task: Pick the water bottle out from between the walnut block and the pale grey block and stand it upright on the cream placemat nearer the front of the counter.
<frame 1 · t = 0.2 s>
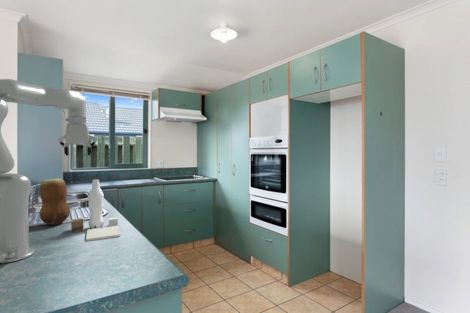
hand: (78, 155, 135), 38 cm above the counter, tool pointing down, fingers open, 9 cm apart
placemat: (103, 233, 130), on the counter
butternut squash: (55, 224, 146), on the counter
pale grey block: (113, 225, 144), on the counter
walnut block: (77, 230, 136), on the counter
water bottle: (96, 228, 140), on the counter
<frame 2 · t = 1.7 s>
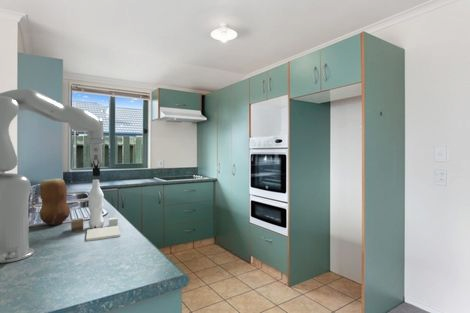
hand: (96, 174, 140), 27 cm above the counter, tool pointing down, fingers open, 9 cm apart
nothing on the counter moved.
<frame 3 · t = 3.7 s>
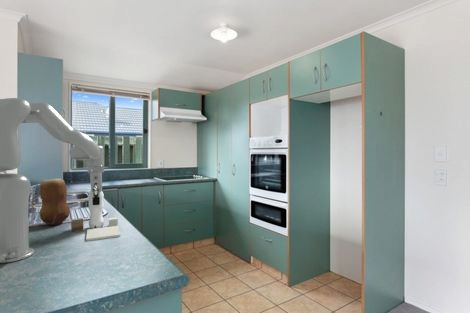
hand: (96, 203, 140), 13 cm above the counter, tool pointing down, fingers closed on water bottle, 7 cm apart
water bottle: (96, 228, 140), on the counter, touching gripper
everything else where it was.
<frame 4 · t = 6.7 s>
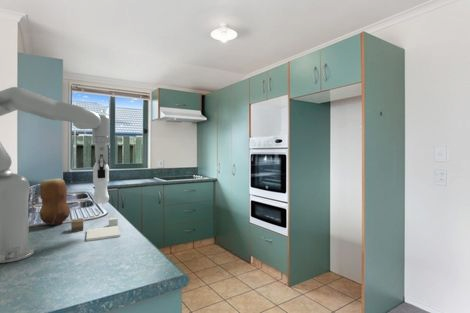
hand: (101, 177, 131), 27 cm above the counter, tool pointing down, fingers closed on water bottle, 7 cm apart
water bottle: (101, 203, 131), point 14 cm above the counter, touching gripper
everything else where it was.
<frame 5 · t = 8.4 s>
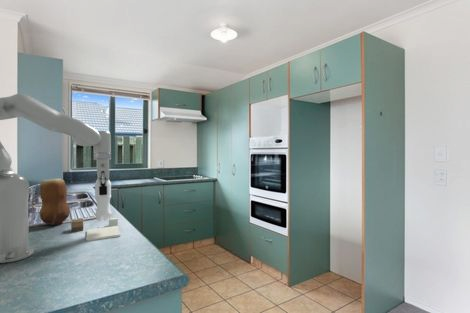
hand: (103, 193, 129), 20 cm above the counter, tool pointing down, fingers closed on water bottle, 7 cm apart
water bottle: (103, 220, 130), point 7 cm above the counter, touching gripper
everything else where it was.
when the fingers open (15 cm above the counter, at t = 9.8 s): water bottle drops 1 cm, resting on placemat.
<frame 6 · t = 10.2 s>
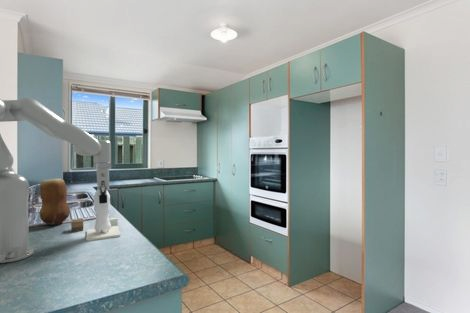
hand: (102, 201, 129), 16 cm above the counter, tool pointing down, fingers open, 9 cm apart
water bottle: (102, 232, 130), point 1 cm above the counter, touching placemat
everything else where it was.
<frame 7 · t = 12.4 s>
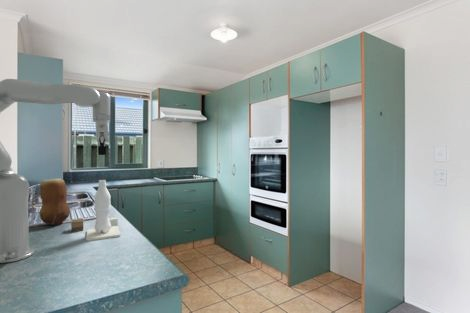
hand: (102, 154, 129), 38 cm above the counter, tool pointing down, fingers open, 9 cm apart
nothing on the counter moved.
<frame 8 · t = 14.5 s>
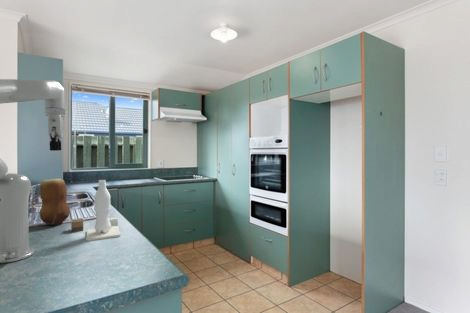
hand: (55, 150, 123), 40 cm above the counter, tool pointing down, fingers open, 9 cm apart
nothing on the counter moved.
at the end: water bottle inside the target area on the placemat (0.2 cm from its centre), point 0.8 cm above the placemat's base; water bottle tilted 0°; the gripper is holding nothing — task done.
